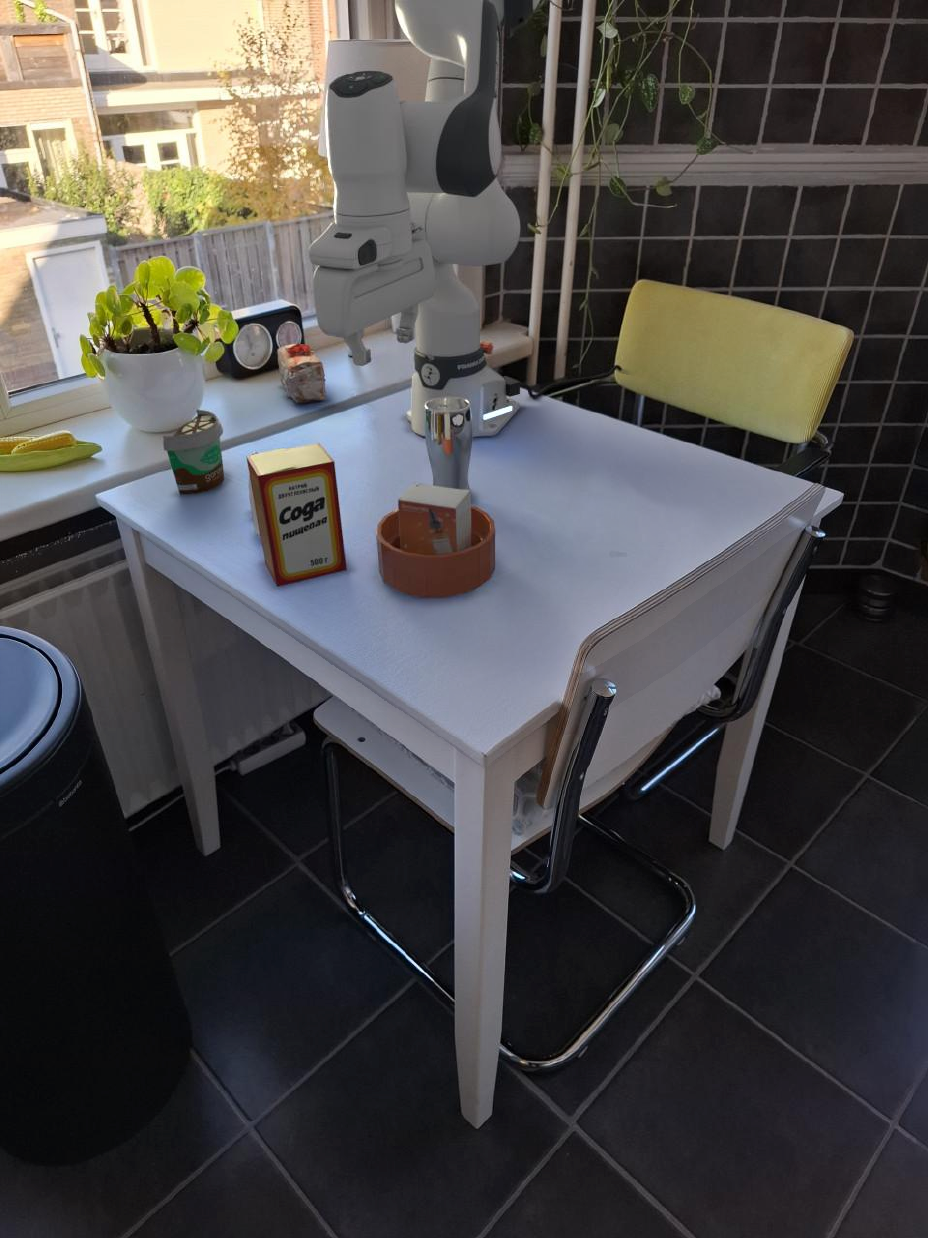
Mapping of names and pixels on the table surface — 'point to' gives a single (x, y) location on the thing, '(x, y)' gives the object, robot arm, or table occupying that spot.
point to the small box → (434, 519)
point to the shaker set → (253, 507)
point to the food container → (196, 454)
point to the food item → (301, 373)
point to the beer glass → (449, 440)
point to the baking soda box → (298, 512)
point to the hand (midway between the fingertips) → (384, 352)
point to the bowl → (437, 560)
